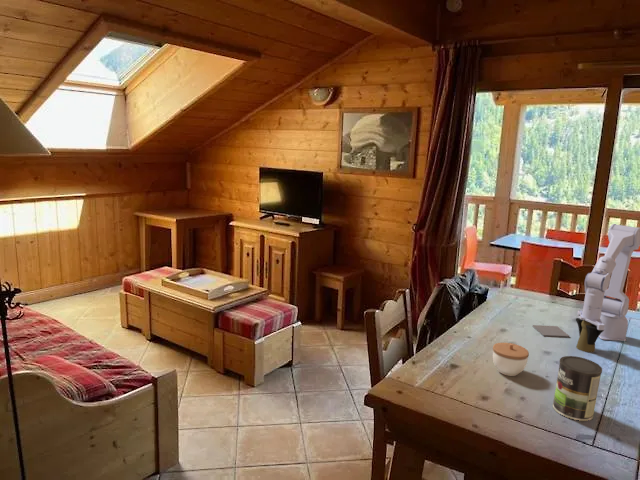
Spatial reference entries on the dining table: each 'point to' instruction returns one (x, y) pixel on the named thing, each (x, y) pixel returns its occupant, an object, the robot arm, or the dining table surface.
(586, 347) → the cork
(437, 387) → the dining table surface
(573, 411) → the coffee can
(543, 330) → the slate coaster
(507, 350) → the lidded jar
